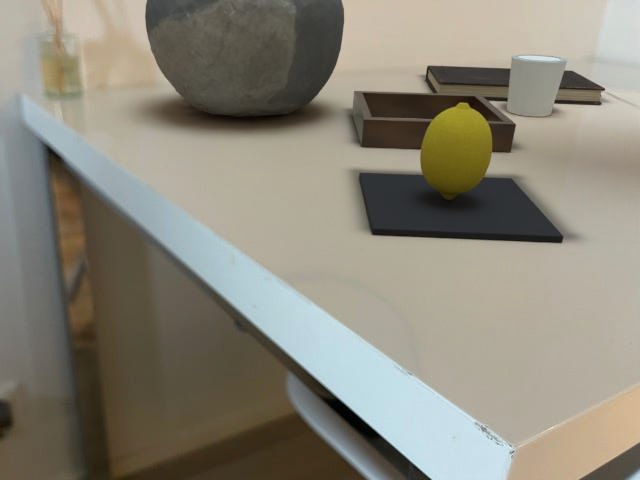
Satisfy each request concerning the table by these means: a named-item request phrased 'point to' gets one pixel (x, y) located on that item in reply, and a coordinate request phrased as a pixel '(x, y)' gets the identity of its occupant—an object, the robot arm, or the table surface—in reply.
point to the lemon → (456, 150)
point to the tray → (419, 106)
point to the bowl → (246, 51)
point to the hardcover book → (506, 84)
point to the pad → (453, 210)
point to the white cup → (534, 84)
